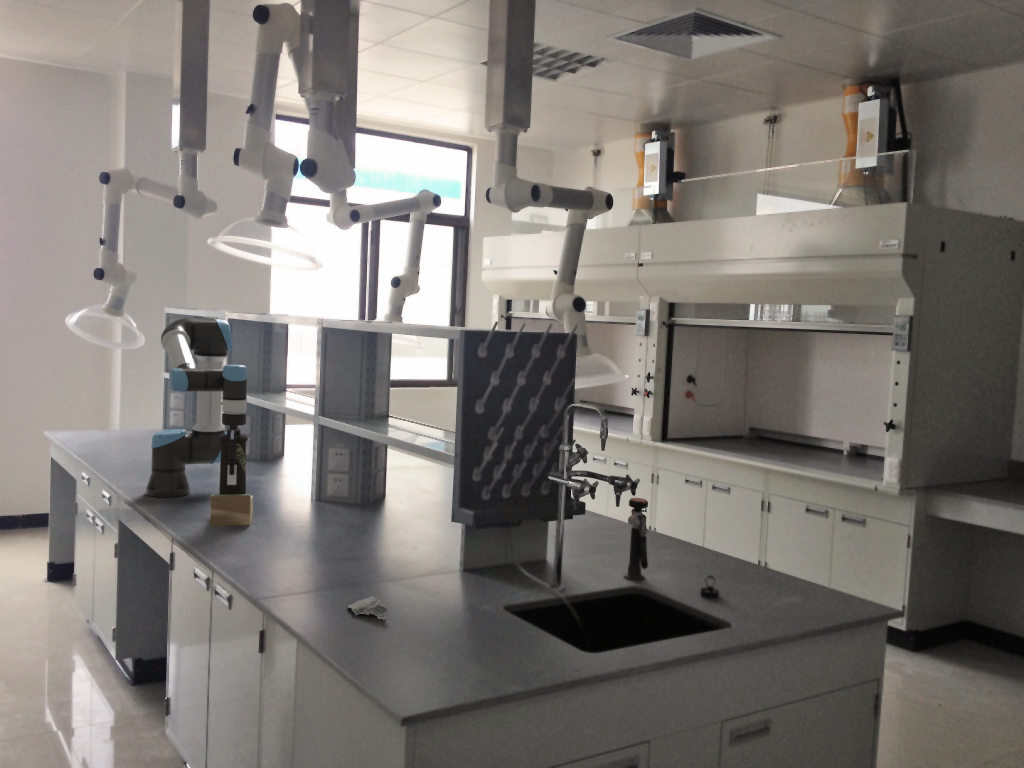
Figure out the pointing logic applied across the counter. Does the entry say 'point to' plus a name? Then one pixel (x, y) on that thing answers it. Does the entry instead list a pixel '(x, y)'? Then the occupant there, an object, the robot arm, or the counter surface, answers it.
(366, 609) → the stone
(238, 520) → the stand
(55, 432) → the counter surface
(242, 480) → the container
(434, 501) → the counter surface
